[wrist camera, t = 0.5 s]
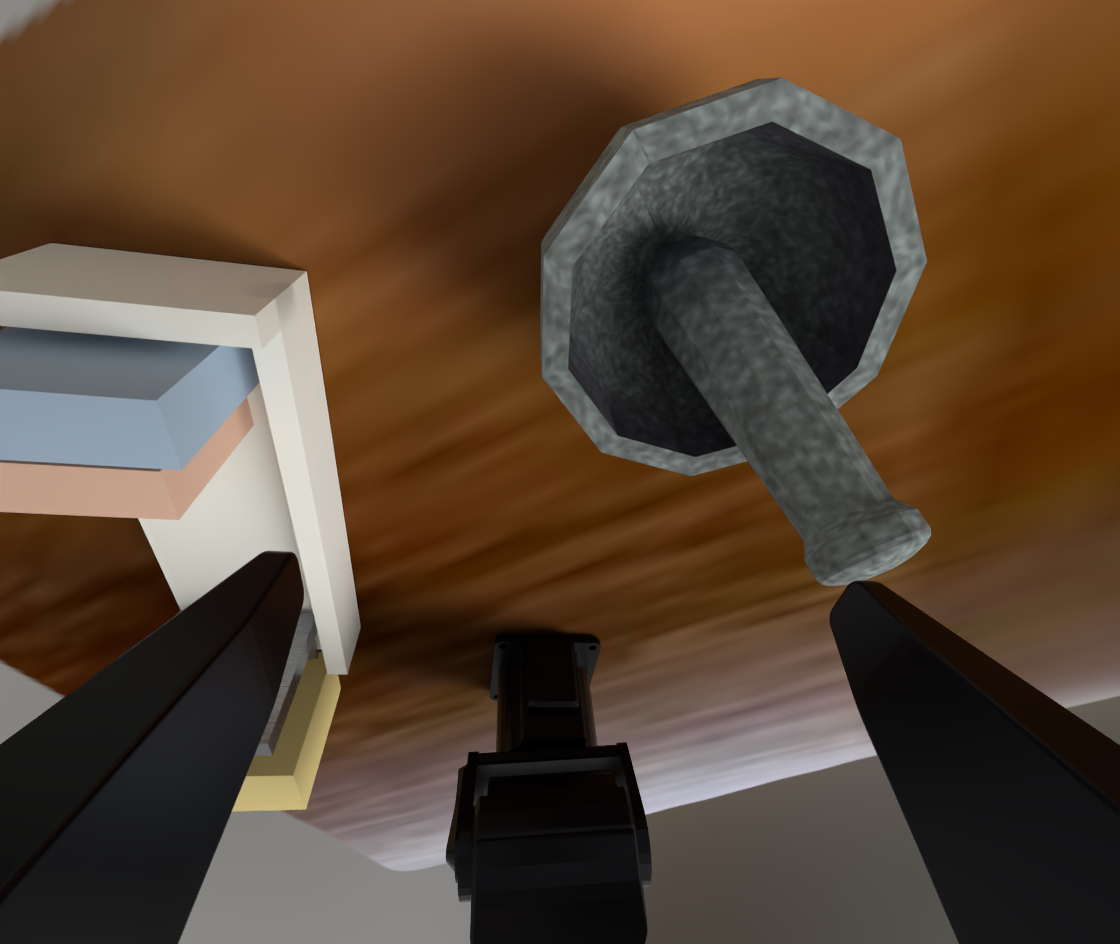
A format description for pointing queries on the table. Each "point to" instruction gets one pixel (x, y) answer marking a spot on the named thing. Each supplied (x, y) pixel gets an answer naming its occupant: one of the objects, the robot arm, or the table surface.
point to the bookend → (289, 681)
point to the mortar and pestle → (742, 305)
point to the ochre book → (294, 746)
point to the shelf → (266, 457)
